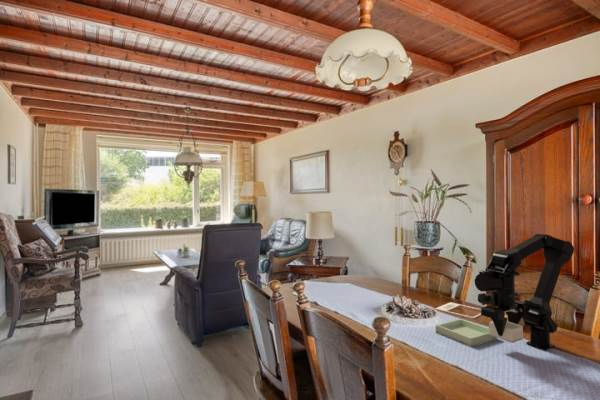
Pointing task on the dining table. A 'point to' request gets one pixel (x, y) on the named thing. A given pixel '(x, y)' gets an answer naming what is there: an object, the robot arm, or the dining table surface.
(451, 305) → the photo frame
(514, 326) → the small crate
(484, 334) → the green tray
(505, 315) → the pottery oil lamp
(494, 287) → the robot arm
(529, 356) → the dining table surface
